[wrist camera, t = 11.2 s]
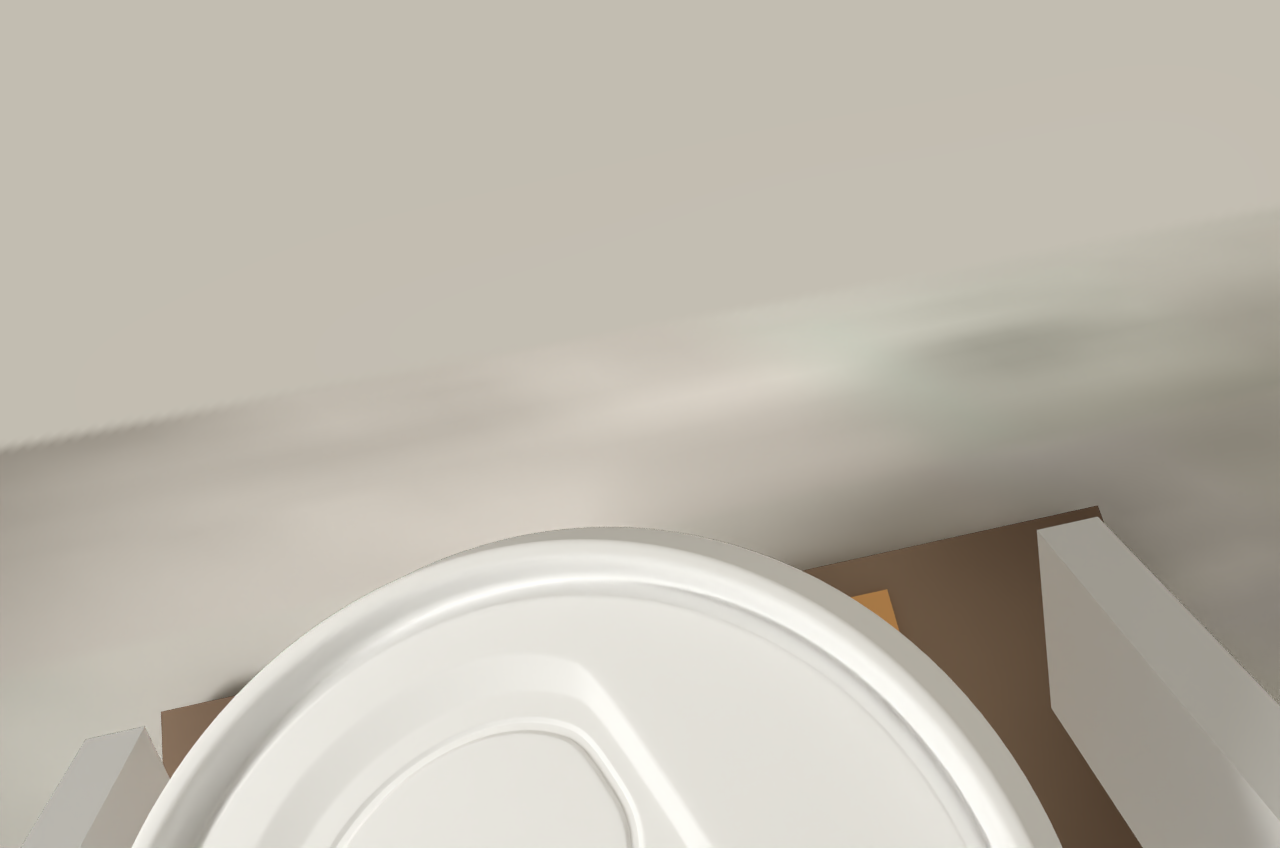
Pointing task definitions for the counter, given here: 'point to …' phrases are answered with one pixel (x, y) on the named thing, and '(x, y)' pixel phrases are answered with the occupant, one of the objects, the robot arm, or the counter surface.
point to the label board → (939, 659)
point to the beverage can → (600, 716)
